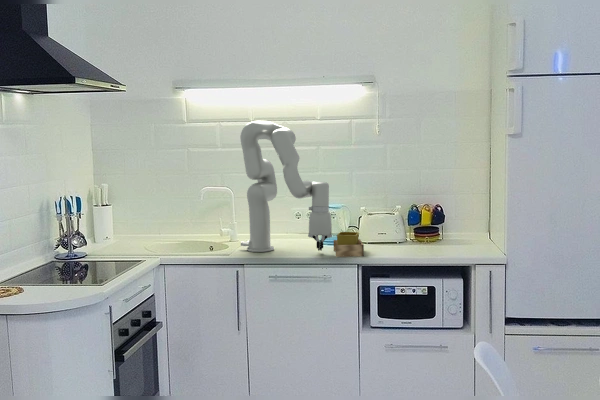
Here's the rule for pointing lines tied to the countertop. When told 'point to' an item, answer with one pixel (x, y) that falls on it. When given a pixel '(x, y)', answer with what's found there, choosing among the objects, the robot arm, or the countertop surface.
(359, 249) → the frame
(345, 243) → the flower pot
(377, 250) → the countertop surface
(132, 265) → the countertop surface
